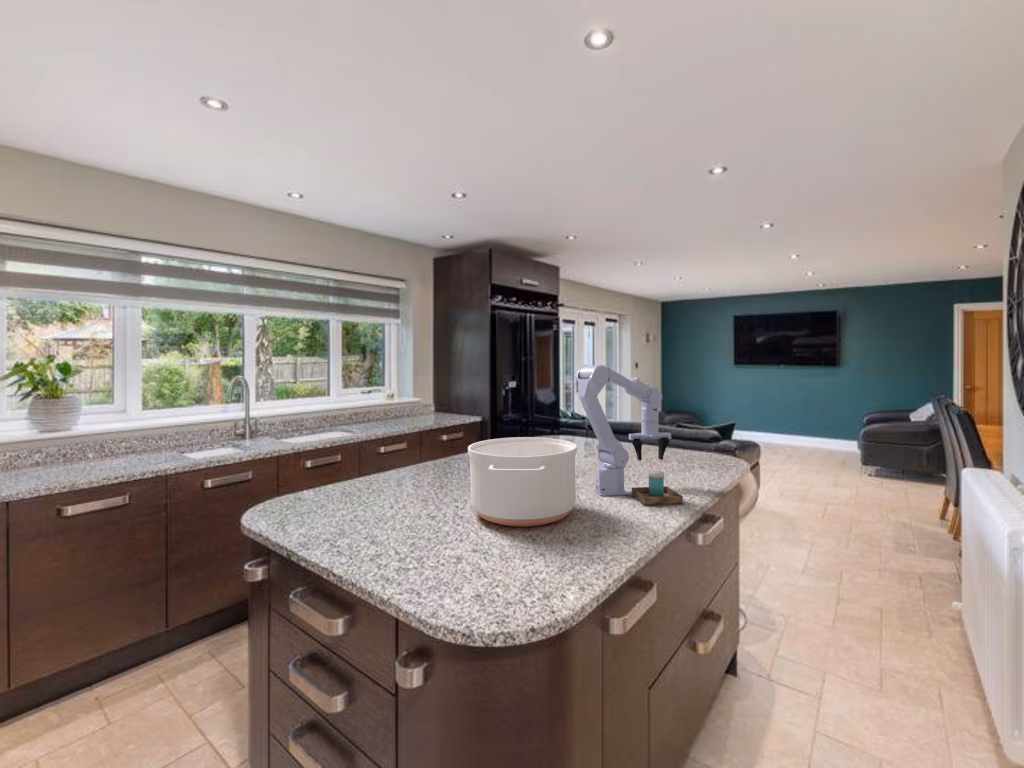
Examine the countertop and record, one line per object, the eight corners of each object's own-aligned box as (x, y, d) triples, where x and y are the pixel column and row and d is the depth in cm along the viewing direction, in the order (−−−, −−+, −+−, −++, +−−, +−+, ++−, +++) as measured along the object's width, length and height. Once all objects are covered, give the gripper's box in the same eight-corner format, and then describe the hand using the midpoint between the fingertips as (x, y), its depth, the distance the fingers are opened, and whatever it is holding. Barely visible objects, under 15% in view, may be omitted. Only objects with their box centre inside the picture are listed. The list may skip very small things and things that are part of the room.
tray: (644, 505, 149) (644, 497, 149) (631, 495, 161) (631, 487, 161) (682, 504, 150) (682, 496, 150) (667, 493, 162) (667, 486, 162)
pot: (580, 541, 121) (579, 460, 120) (454, 538, 125) (452, 460, 124) (576, 494, 162) (575, 434, 161) (481, 493, 166) (480, 434, 165)
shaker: (650, 499, 153) (650, 473, 153) (646, 495, 158) (646, 470, 158) (665, 499, 153) (665, 474, 153) (661, 495, 158) (662, 470, 157)
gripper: (633, 423, 166) (633, 462, 166) (674, 421, 167) (674, 461, 168) (626, 420, 173) (627, 458, 173) (666, 419, 174) (666, 457, 175)
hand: (650, 459), depth 171 cm, fingers open, 7 cm apart
